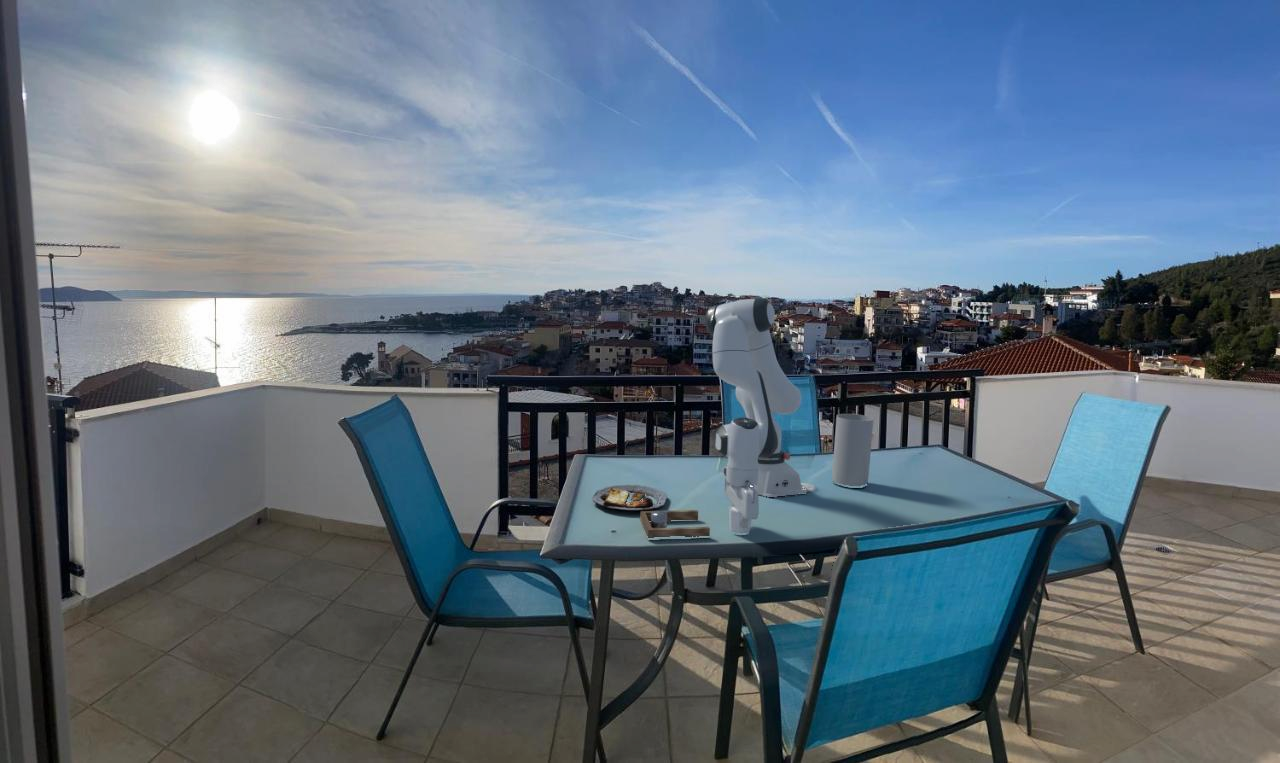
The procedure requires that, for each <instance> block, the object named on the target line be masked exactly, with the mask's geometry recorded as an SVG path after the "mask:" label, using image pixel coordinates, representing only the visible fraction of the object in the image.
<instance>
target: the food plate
mask: <svg viewBox="0 0 1280 763" xmlns="http://www.w3.org/2000/svg"><path fill="white" fill-rule="evenodd" d="M629 492H630V493H634V494H632V495H631V499H632V500H633V501H631V500H630V501H631V502H629V503H630V504H626V502H627V499H628V496H629V497H630V494H629ZM645 494H646V495H648V496H651V497H653V498H654V499H655V500H656V502H657V503H656V502H655V503H656V504H655V503H654V502H653V501H654V500H652V498H651V497H648V496H647V497H646V498H645V497H644V496H645ZM643 497H644V498H643ZM642 498H643V499H645V500H643V501H642V500H641V499H642ZM591 499H592V502H593V503H595V504H597V505H599V506H600V507H602V508H603V507H604V508H607V509H610V510H611V509H613V510H621V511H626V512H632V511H633V512H635V511H651V510H656V509H659V507H660V508H662V507H663V506H665V503H666V501H667V499H668V494H667V493H666V492H664V491H662V490H660V489H657V488H654V487H650V486H645V485H639V484H638V485H635V484H634V485H633V484H623V485H622V484H620V485H611V486H606V487H605V486H604V487H603V488H601V489H597V490H596V492H595V493H594V495H593V497H592V498H591ZM640 500H641V501H640ZM653 503H654V504H655V505H654V506H653ZM658 503H659V504H658ZM657 504H658V505H657Z"/></svg>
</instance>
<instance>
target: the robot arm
mask: <svg viewBox="0 0 1280 763" xmlns="http://www.w3.org/2000/svg"><path fill="white" fill-rule="evenodd" d="M775 317H776V314H775V309H774V305H773V304H772V302H771V301H770V300H769V299H768V298H765V297H756V298H749V299H747V298H746V299H737V300H736V301H735V300H734V301H732V302H731V301H730V302H726V303H722V304H716V305H713V306H711V307H709V308H708V309H707V311H706V312H705V318H704V321H705V323H704V324H705V327H706V330H707V333H709V334H710V335H711V336H712V348H711V349H712V366H713V370H714V374H716V376H717V377H718V378H719V379H720V380H722V381H723V382H725V383H726V384H728V385H731V386H734V387H736V388H735V398H736V400H737V402H738V403H739V404H740V405H741V407H742V408H743V411H744V412H745V417H736V418H733V419H732V420H731V422H730V423H729V424H728V423H727V424H722V425H720V427H718V429H716V431H715V433H714V449H715V451H716V452H717V453H718V454H719V455H721V456H722V457H726V458H728V460H727V464H726V466H724V467H723V469H722V470H723V472H722V473H723V475H724V495H725V497H726V498H727V499H728V501H729V502H730V503H731V506H732V505H734V506H735V507H736V509H737V510H738V511H739V512H740V513H741V516H742V517H741V521H740V526H741V528H747V524H748V520H749V519H752V520H757V519H758V517H759V513H760V512H759V510H760V506H759V504H760V503H759V502H760V500H759V498H760V497H759V496H763V497H766V496H767V497H766V498H769V497H774V498H778V497H777V496H785V495H792V494H799V493H800V494H801V493H806V492H807V493H808V489H807V488H806V487H805V488H806V490H802V489H803V488H802V486H804V484H802V482H801V476H800V473H799V472H798V471H797V470H796V469H795V468H794V467H792V466H791V465H790V464H789V463H787V462H786V461H789V460H790V459H791V455H790V454H789V453H786V452H784V451H783V450H781V448H782V429H781V427H780V425H779V423H777V421H776V420H775V418H774V416H773V414H777V415H791V414H794V413H796V411H797V410H799V408H800V406H801V404H802V393H801V390H800V389H799V387H798V386H796V385H794V383H792V382H791V380H789V378H788V377H787V375H786V374H785V373H784V371H783V370H782V368H781V366H780V364H779V362H778V359H777V356H776V353H775V347H774V343H773V341H772V336H771V333H770V332H771V331H770V329H771V328H772V327H773V325H774V324H775ZM805 488H804V489H805ZM785 497H786V496H785Z"/></svg>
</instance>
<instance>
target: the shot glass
mask: <svg viewBox="0 0 1280 763" xmlns="http://www.w3.org/2000/svg"><path fill="white" fill-rule="evenodd" d="M741 517H742V516H741V513H740V512H739V511H738V510H737V509H736V507H735V506H734V505H732V504H731V505H729V506H728V519H729V525H728V526H729V531H730V530H731V531H732V532H735V533H741V534H742V533H748V532H749V531H750V532H751V527H752V526H751V525H752V520H753V519H749V520H748V524H747V528H741V526H740V521H741Z"/></svg>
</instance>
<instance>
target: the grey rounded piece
mask: <svg viewBox="0 0 1280 763" xmlns="http://www.w3.org/2000/svg"><path fill="white" fill-rule="evenodd" d="M652 511H653V512H651V522H650V525H651V527H652V528H668V527H667V526H668V522H667V513H666V512H665V511H666V510H652Z"/></svg>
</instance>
